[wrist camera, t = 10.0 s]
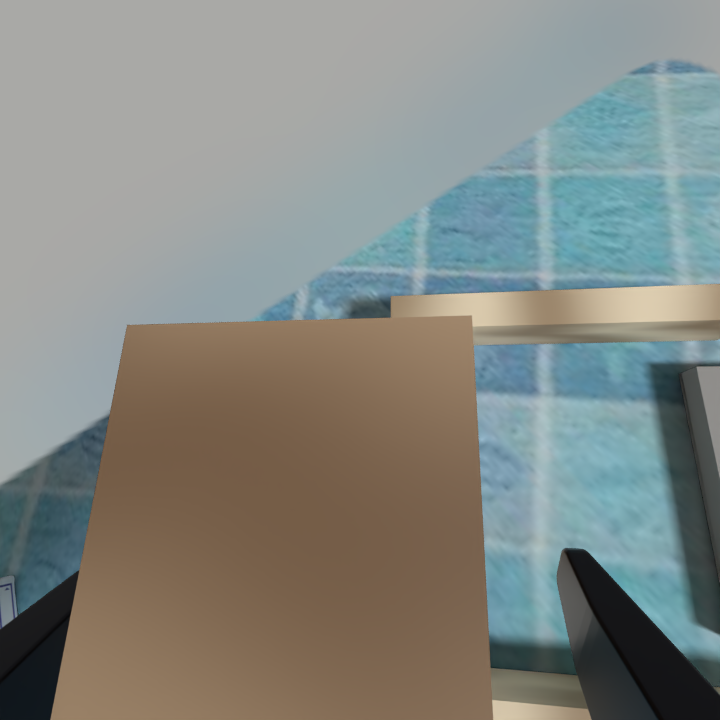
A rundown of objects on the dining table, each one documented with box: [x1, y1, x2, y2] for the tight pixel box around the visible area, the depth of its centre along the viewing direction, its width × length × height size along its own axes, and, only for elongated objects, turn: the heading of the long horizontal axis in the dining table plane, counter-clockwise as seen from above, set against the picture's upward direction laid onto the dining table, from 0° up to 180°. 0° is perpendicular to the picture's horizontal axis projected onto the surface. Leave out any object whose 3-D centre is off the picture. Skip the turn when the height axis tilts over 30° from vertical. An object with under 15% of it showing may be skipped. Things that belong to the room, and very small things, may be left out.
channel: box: [391, 284, 720, 720], centre depth 16 cm, size 14×16×2 cm
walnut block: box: [50, 315, 493, 720], centre depth 11 cm, size 4×4×14 cm
